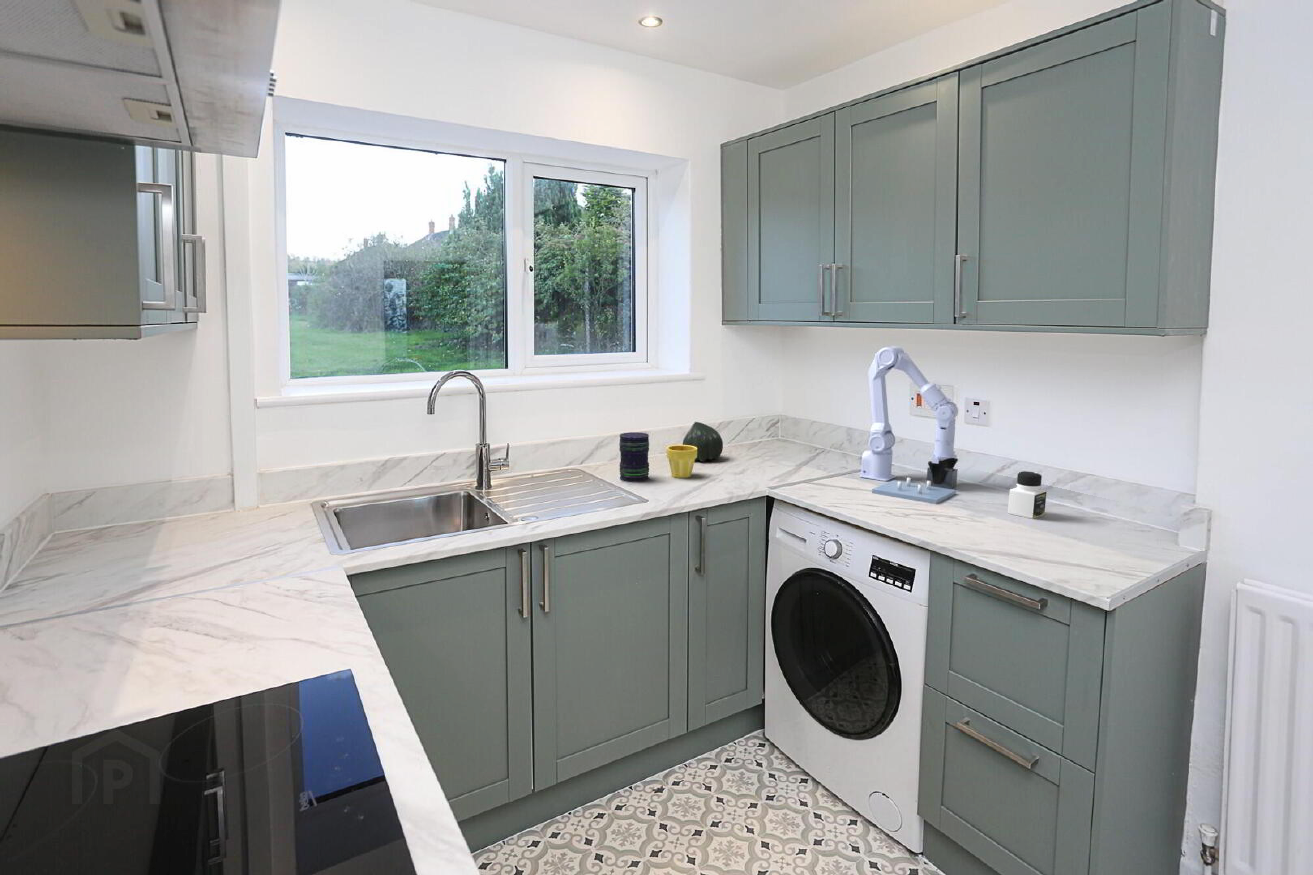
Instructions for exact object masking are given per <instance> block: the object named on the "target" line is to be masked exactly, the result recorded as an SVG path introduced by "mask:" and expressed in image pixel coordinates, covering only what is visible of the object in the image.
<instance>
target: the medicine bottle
mask: <svg viewBox="0 0 1313 875" xmlns="http://www.w3.org/2000/svg"><path fill="white" fill-rule="evenodd" d="M1042 479H1043V478H1042V474H1040V473H1039V472H1036V471H1029V470H1024V471H1020V472H1018V473H1017V477H1016V487H1014V488H1011V489H1009V495H1008V506H1007V507H1008V508H1007V514H1008V515H1013V516H1018V517H1023V518H1026V519H1032V520H1033V519H1037V518H1040V517H1042V516H1044V515H1045V513H1046V503H1047V502H1046V500H1047V489H1041V488H1042Z"/></svg>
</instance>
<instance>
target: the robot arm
mask: <svg viewBox="0 0 1313 875" xmlns="http://www.w3.org/2000/svg"><path fill="white" fill-rule="evenodd" d="M892 369H895V370H898V371H901V372H904V373H905V374H906V375H907V376H908V377H909V379H910V380H911V381H912V382H913V383H914V384H915V385H916V386H917V387H918V388H919V390H920V394H919V395H920V397H921V398H922V399H923V400H924V401H925V403H926V404H927V405H928V406H929V407H930V409H931V410H932V411H934V416H935V419H936V426H935V436H934V450H933V456H931V460H929V461H928V463H927V465H928V467H930V469H931V472H932V477H933V483H934V484H938V485H940V484H941V482H942V478H943V473H944V471H945V468H953V469H955V466H956V464H957V462H959V461H958V460H959V458H958V455H957V454H956V452H955V449H954V447H955V435H956V418H957V416H958V414H959V408H958V406H957V404H956V403H955V402H953V401H952V400H951V399H950V397H947V396H946V395H945V394H944V392H943V391H942V387H941V386H940V385H937V384H936V383H931V382H929V381H928V380H927V378H926V377H925V375H924V374H923V373H922V372H921V370H920V369H919V367H917V365H916V363H914V361H913V360H912V358H911V356H910V355H909V354H908V353H906V352H905V351H904V349H903V348H902V347H900V346H898V345H894V346H893V345H892V346H890V347H889V346H887V347H886V346H885V347H882V348H881V349H879V351H877V352H876V353H875V354H874V358H873V361H872V363H871V364H870V367H869V368H868V372H867V373H868V382H869V383H868V384H869V394H870V397H869V398H870V407H871V408H870V409H871V418H872V420H871V422H872V426H871V428H870V432H869V433H870V434H869V436H870V437H869V438H868V442H867V443H868V447H869V449H867V450H864V452H863V453H862V456H861V467H860V470H861V471H860V475H859V477H860V478H863V479H864V478H865V479H869V480H870V479H871V480H877V481H881V482H887V481H890V480H892V479H893V480H894V479H895V478H896V477H897V476H896V475H892V471H893V470H892V469H893V468H892V467H893V466H892V465H893V449H892V448H893V447H894V446H895V444H896V436H895V434H894V433H893V427H892V425H891V424H890V422H889V408H888V397H887V384H886V375H887V374H888V373H889V372H891V370H892Z"/></svg>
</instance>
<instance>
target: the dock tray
mask: <svg viewBox="0 0 1313 875" xmlns="http://www.w3.org/2000/svg"><path fill="white" fill-rule="evenodd" d="M911 480H912V478H911V477H907V478H906V481H901V480H895V479H893V480H891V481H889V482H885V483H884V484H881V485H879V486H877V487H874V488H872V490H871V493H872V494H875V495H876V494H877V495H881V496H888V497H893V498H899V499H900V498H901V499H905V500H910V501H911V500H912V501H916V502H921V501H923V503H927V502H928V503H927V504H934V505H937V504H940V503H941V502H944V501H945V500H947V499H949V498H950V497H952V496H954V495H956V494H957V493H956V492H957V489H946V488H939V487H933V486H931V481H927V480H926V483H927V485H926V484H919V483H914V482H911ZM948 497H949V498H948Z"/></svg>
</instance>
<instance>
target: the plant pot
mask: <svg viewBox="0 0 1313 875" xmlns="http://www.w3.org/2000/svg"><path fill="white" fill-rule="evenodd" d="M666 458H667V459H668V462H669V468H670V473H671V474H670V475H671V477H672V478H677V479H678V478H679V479H686V478H690V477H691V476H692V473H693V468H694V464H695V462H696V461H695V459H696V458H697V448H696V447H694V446H689V445H683V444H674V445H669V446H667V447H666Z"/></svg>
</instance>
